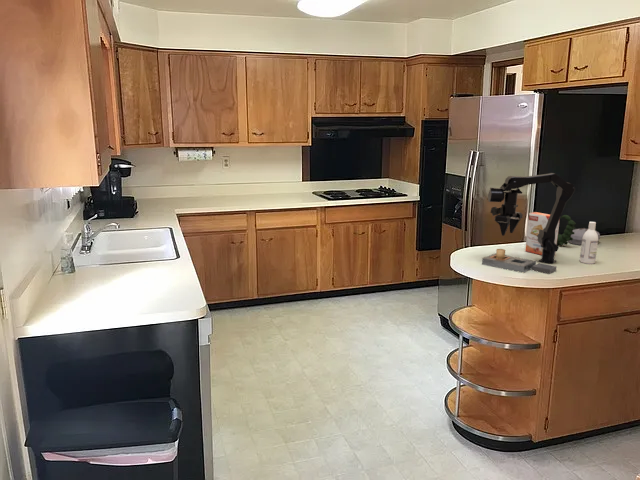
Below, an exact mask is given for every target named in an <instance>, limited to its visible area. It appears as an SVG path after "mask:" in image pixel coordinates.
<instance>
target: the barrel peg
mask: <svg viewBox="0 0 640 480" xmlns="http://www.w3.org/2000/svg"><path fill="white" fill-rule="evenodd" d="M495 251H496V258H498V259H505V255H506V249H504V248H496V250H495Z"/></svg>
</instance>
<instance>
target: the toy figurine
mask: <svg viewBox="0 0 640 480" xmlns="http://www.w3.org/2000/svg"><path fill="white" fill-rule="evenodd" d="M560 219H565V221H566V222H567V225H565V229H564V230H563V233H562V234H561V233H558V238H557V246H558V245H559V246H563V245H565V246H567V245H568V244H569V242H568V241H570V240H573V238H572V237H571V235H572V234H574V232H573V230H575V229H576V226H575V225H576V224H577V223H576V222H575V221H574V220H573V219H572V218H571V216H570V215H567V214H564V215H561V217H560Z"/></svg>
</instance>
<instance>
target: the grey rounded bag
mask: <svg viewBox="0 0 640 480" xmlns="http://www.w3.org/2000/svg"><path fill="white" fill-rule="evenodd" d="M587 230H588V228H585V227H583V228H582V227H581V228H575V229H573V230H572V231H573V232H574V234H572V235H571V237H572V238H573V240H570V241H567V242H568V243H570V244H574V245H577V244H578V245H579V246H581V245H582V238H583V235H584V233H585V232H586V231H587ZM595 231H596V233H597V235H598V242H599V240H600V239H601V233H600V232H599V231H597V230H595Z"/></svg>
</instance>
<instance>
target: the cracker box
mask: <svg viewBox="0 0 640 480" xmlns="http://www.w3.org/2000/svg"><path fill="white" fill-rule="evenodd" d="M528 215H529V216H528V223H527V231H526V239H525V240H526V241H525V249H524V250H525V252H527V253H532V254H535V255H540V256H542V250H543V248H542V247H541V244H540V243H539V242H538V237H537V236H538V234H539V230H540V229H541V230H543V229H544V228H545V227H546V225H547V222H548V220H549V217H550V214H548V213H542V212H537V211H533V212H529V214H528ZM560 219H561V218H560ZM560 219H559V222H558V224H557V227H556V230H555V241H554V243H555V244H556V245H557V238H558V234H559V227H560ZM557 246H558V245H557ZM556 252H557V251H555V254H556Z"/></svg>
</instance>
